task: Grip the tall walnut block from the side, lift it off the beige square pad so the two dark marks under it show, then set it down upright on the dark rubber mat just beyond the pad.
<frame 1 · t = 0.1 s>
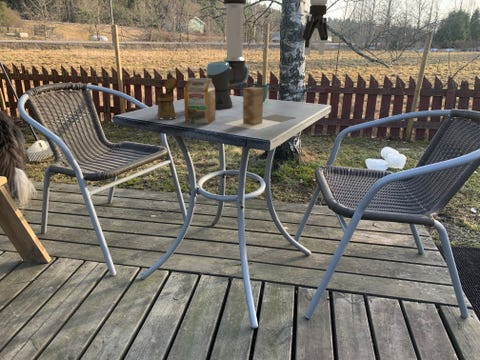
hand: (314, 55, 174), 28 cm above the table, tool pointing down, fingers open, 13 cm apart
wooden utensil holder: (169, 117, 176), on the table
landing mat: (277, 118, 175), on the table
beige square pad: (252, 123, 164), on the table
milk carton: (200, 122, 167), on the table
walnut block: (252, 123, 163), on the table, touching beige square pad
flower pot: (260, 101, 223), on the table
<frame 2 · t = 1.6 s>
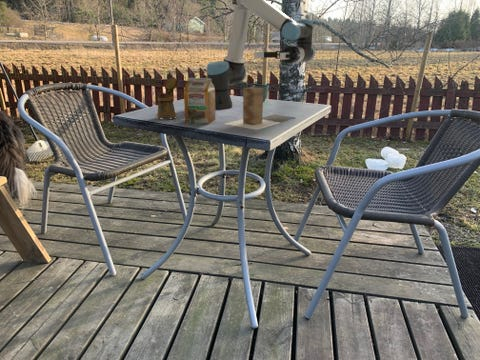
hand: (267, 55, 161), 28 cm above the table, tool horizontal, fingers open, 13 cm apart
nothing on the table moved.
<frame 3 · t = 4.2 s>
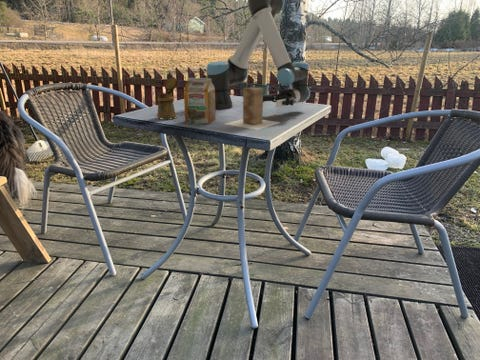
hand: (264, 102, 166), 8 cm above the table, tool horizontal, fingers open, 13 cm apart
nothing on the table moved.
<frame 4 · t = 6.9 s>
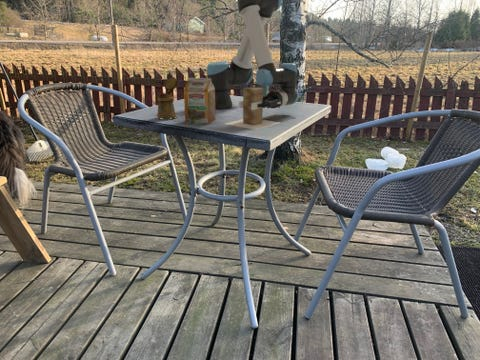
hand: (245, 105, 157), 8 cm above the table, tool horizontal, fingers closed on walnut block, 6 cm apart
walnut block: (252, 123, 164), on the table, touching beige square pad, gripper
everything else where it was.
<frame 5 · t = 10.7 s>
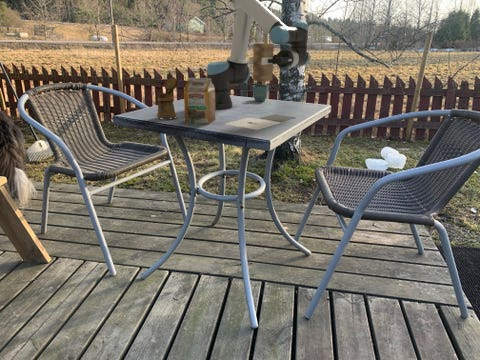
hand: (255, 60, 154), 26 cm above the table, tool horizontal, fingers closed on walnut block, 6 cm apart
walnut block: (262, 80, 160), point 18 cm above the table, touching gripper
everything else where it was.
when the fingers open (10 cm above the table, at t = 14.9 s): walnut block drops 2 cm, resting on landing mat.
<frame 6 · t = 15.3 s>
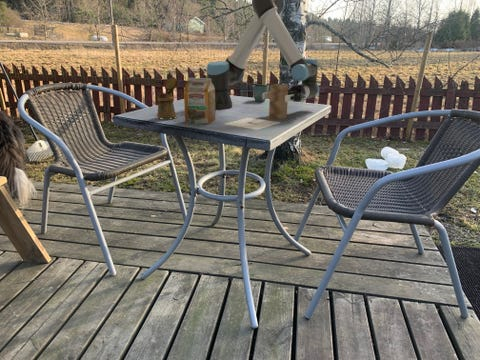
hand: (274, 97, 168), 10 cm above the table, tool horizontal, fingers open, 11 cm apart
walnut block: (277, 117, 175), resting on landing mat
everything else where it was.
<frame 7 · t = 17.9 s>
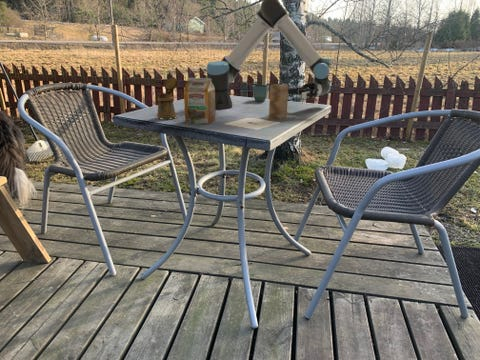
hand: (289, 94, 178), 10 cm above the table, tool horizontal, fingers open, 13 cm apart
nothing on the table moved.
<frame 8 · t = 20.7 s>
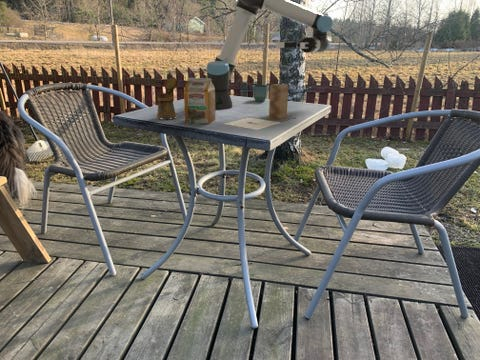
hand: (288, 45, 178), 32 cm above the table, tool horizontal, fingers open, 13 cm apart
nothing on the table moved.
at the end: walnut block inside the target area on the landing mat (0.0 cm from its centre), point 0.3 cm above the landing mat's base; walnut block tilted 0°; the gripper is holding nothing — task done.
